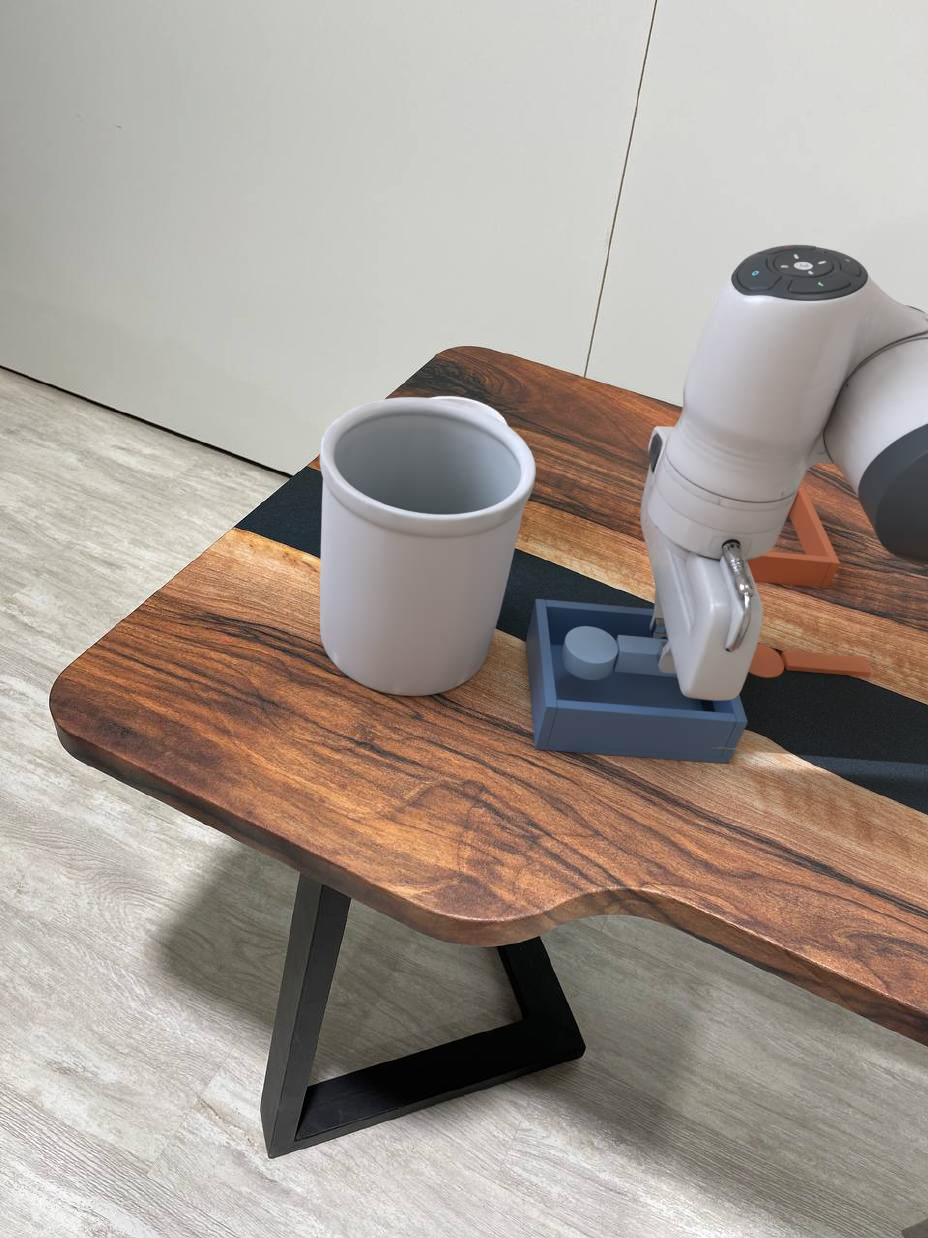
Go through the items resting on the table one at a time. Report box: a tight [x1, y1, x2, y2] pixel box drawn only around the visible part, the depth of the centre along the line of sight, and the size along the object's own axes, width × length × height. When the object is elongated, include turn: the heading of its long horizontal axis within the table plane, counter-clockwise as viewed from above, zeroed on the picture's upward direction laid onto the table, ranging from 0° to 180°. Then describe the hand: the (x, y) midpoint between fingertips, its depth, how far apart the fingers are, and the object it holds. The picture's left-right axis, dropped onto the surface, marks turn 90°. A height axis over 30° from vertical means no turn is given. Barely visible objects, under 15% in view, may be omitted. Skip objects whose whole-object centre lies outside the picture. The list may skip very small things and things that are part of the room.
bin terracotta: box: [747, 486, 841, 589], centre depth 94 cm, size 15×12×5 cm
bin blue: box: [525, 598, 748, 765], centre depth 77 cm, size 15×12×5 cm
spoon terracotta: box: [748, 642, 872, 679], centre depth 83 cm, size 11×4×2 cm, turn 91°
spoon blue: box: [561, 626, 677, 680], centre depth 76 cm, size 11×4×2 cm, turn 91°
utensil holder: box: [319, 396, 537, 697], centre depth 75 cm, size 15×15×18 cm
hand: (664, 651), depth 76 cm, fingers closed on spoon blue, 2 cm apart
